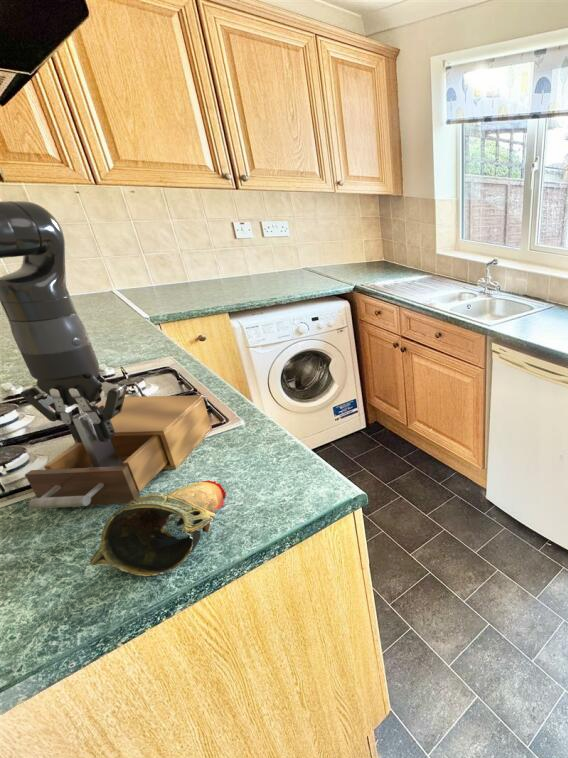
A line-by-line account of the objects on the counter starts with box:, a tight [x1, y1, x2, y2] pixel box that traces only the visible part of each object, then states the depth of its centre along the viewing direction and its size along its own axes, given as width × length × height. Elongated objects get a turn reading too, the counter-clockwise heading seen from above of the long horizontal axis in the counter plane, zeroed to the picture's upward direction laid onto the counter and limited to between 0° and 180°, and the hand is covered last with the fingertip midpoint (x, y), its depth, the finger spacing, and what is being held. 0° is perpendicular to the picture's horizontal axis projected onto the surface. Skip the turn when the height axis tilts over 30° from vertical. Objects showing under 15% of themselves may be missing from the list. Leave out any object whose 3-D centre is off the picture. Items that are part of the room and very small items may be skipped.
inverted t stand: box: [73, 410, 125, 468], centre depth 72 cm, size 8×6×13 cm
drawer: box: [24, 435, 169, 510], centre depth 72 cm, size 18×13×7 cm
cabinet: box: [72, 394, 213, 470], centre depth 84 cm, size 15×15×9 cm
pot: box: [87, 479, 227, 577], centre depth 64 cm, size 17×11×18 cm
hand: (96, 439), depth 71 cm, fingers closed
